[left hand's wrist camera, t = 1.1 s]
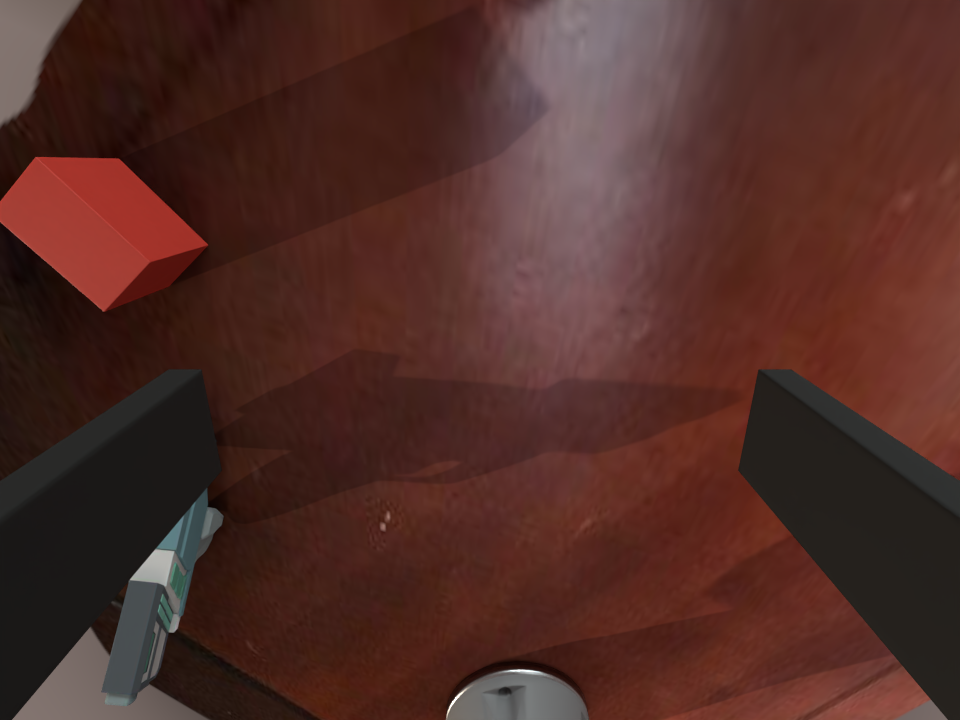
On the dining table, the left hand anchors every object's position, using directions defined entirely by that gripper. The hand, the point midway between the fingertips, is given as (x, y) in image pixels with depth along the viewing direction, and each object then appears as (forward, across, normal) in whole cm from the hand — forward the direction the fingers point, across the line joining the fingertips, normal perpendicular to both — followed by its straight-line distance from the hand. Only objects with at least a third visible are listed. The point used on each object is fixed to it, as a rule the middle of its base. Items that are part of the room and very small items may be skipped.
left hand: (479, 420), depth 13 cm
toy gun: (+29, +25, +23) cm, 44 cm away
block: (+29, +25, -2) cm, 38 cm away
